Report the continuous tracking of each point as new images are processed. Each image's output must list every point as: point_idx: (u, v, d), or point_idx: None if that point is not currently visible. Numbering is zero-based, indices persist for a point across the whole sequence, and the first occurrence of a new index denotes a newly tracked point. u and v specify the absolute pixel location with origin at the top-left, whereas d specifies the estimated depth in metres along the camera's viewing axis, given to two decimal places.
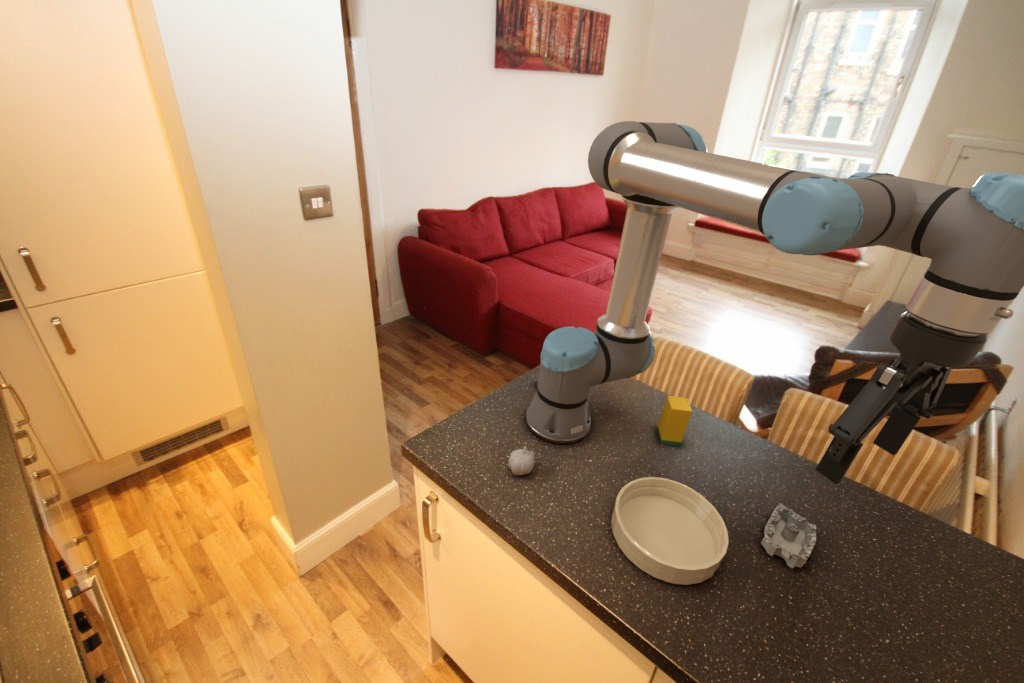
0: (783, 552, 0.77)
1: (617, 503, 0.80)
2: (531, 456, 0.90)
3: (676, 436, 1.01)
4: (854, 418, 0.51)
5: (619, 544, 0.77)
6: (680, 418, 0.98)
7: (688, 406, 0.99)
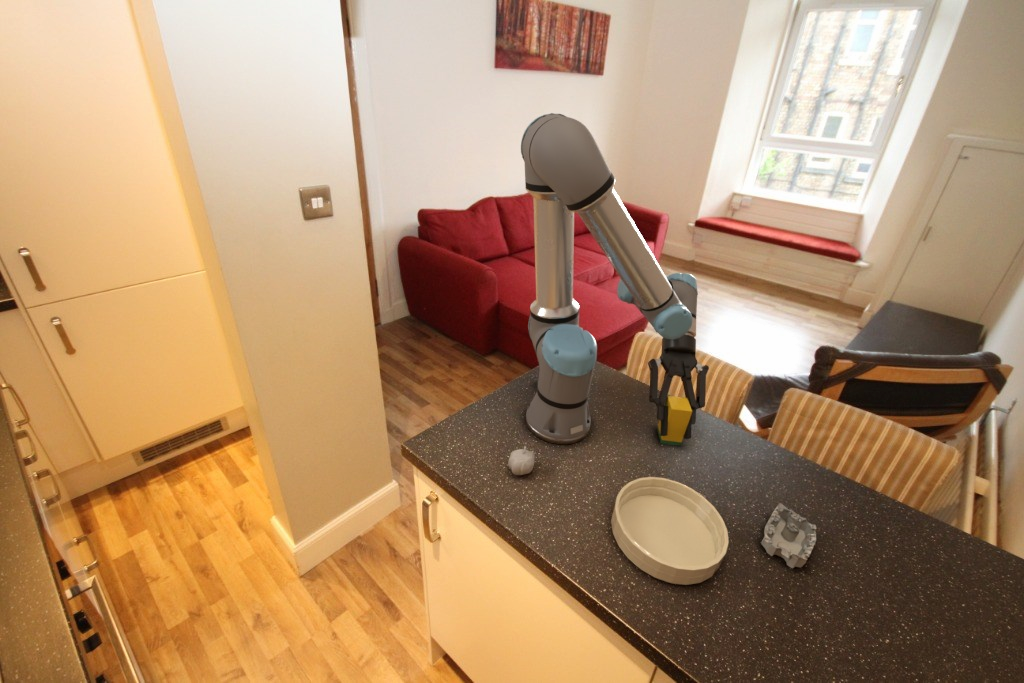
0: (783, 552, 0.77)
1: (617, 503, 0.80)
2: (531, 456, 0.90)
3: (676, 436, 1.01)
4: None
5: (619, 544, 0.77)
6: (680, 418, 0.98)
7: (688, 406, 0.99)
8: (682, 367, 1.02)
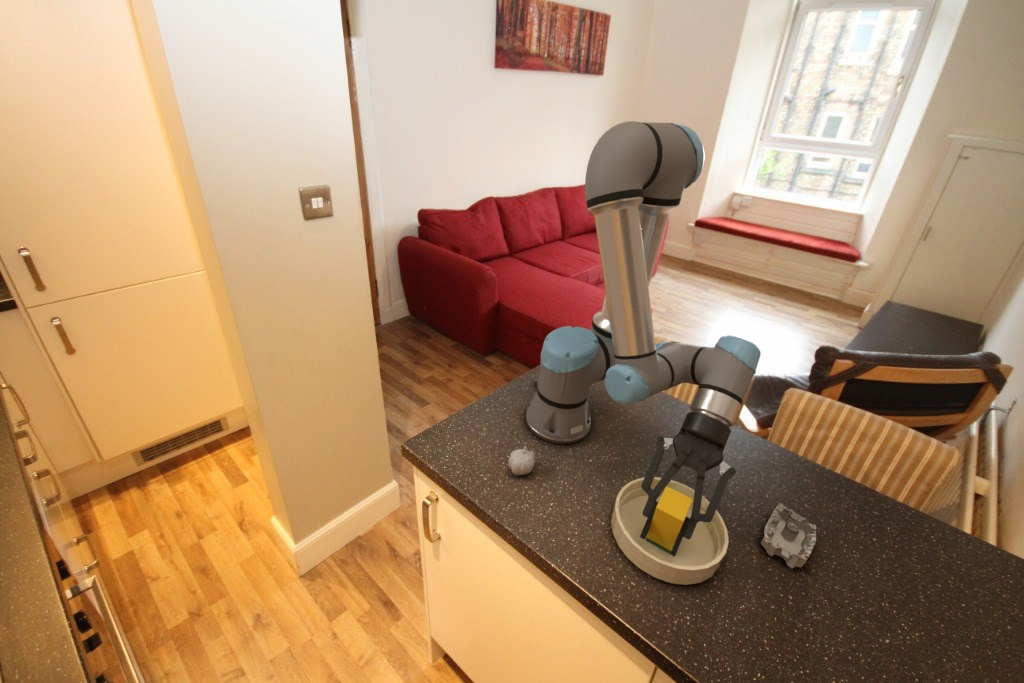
0: (783, 552, 0.77)
1: (617, 503, 0.80)
2: (531, 456, 0.90)
3: (664, 541, 0.76)
4: None
5: (619, 544, 0.77)
6: (668, 523, 0.73)
7: (683, 512, 0.72)
8: (698, 459, 0.76)
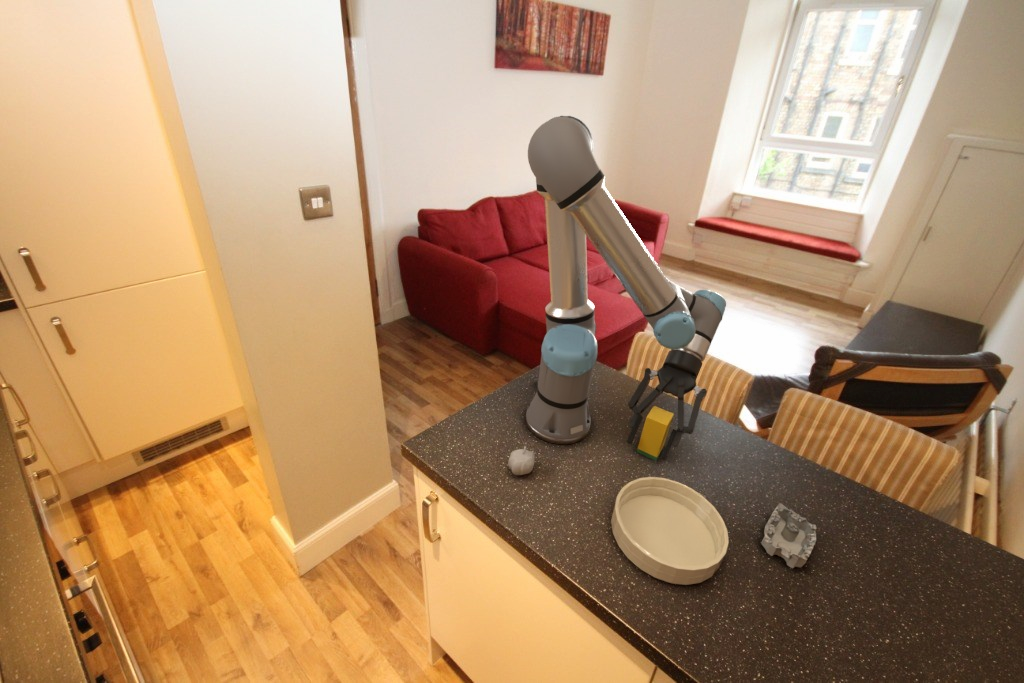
0: (783, 552, 0.77)
1: (617, 503, 0.80)
2: (531, 456, 0.90)
3: (651, 448, 0.96)
4: None
5: (619, 544, 0.77)
6: (655, 430, 0.94)
7: (667, 420, 0.94)
8: (676, 385, 0.97)
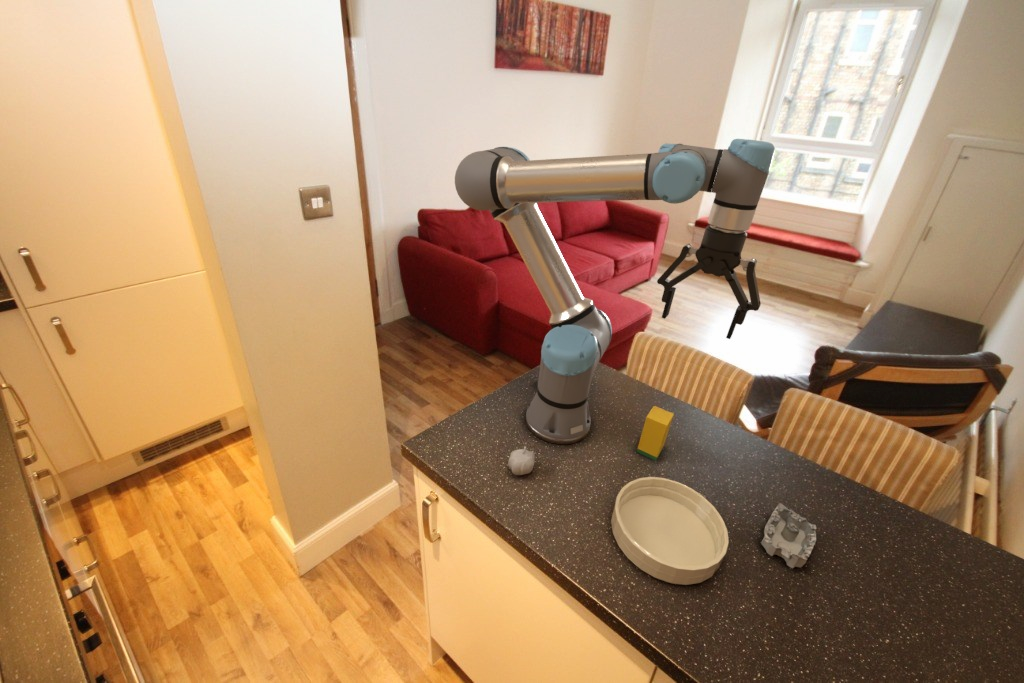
0: (783, 552, 0.77)
1: (617, 503, 0.80)
2: (531, 456, 0.90)
3: (651, 448, 0.96)
4: (757, 294, 0.87)
5: (619, 544, 0.77)
6: (655, 430, 0.94)
7: (667, 420, 0.94)
8: (718, 267, 0.88)
